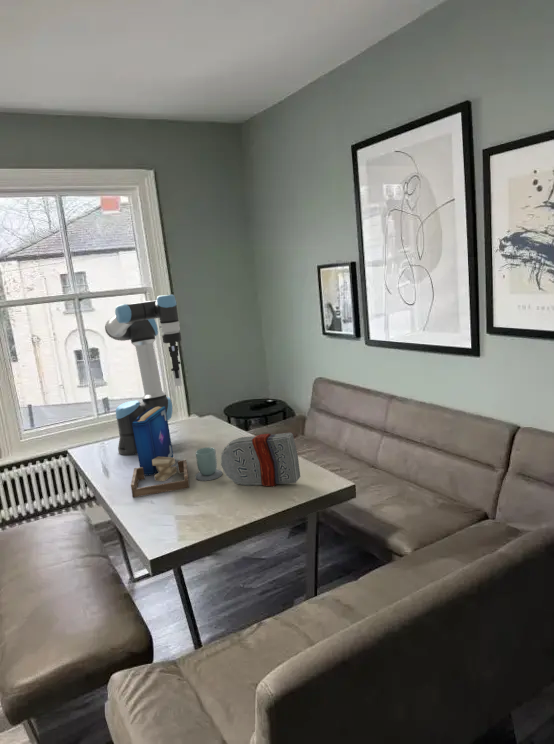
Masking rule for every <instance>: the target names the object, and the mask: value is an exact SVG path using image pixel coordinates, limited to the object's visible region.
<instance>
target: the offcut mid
mask: <svg viewBox="0 0 554 744" xmlns="http://www.w3.org/2000/svg"><path fill="white" fill-rule="evenodd" d="M156 469H157V472H158V473H159V474H160V475H165V474H169V473H171V466H170V467H161V466H156Z"/></svg>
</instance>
